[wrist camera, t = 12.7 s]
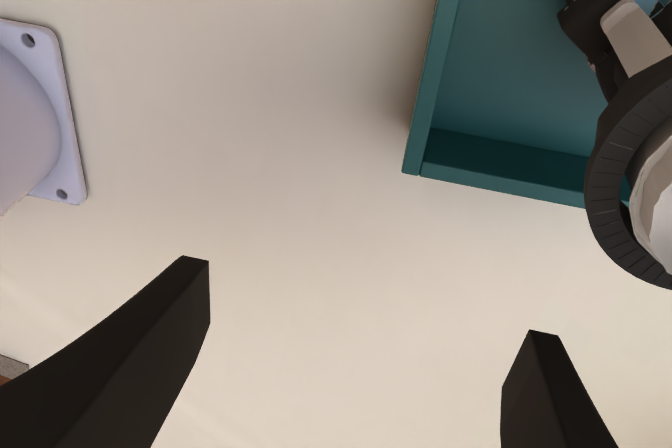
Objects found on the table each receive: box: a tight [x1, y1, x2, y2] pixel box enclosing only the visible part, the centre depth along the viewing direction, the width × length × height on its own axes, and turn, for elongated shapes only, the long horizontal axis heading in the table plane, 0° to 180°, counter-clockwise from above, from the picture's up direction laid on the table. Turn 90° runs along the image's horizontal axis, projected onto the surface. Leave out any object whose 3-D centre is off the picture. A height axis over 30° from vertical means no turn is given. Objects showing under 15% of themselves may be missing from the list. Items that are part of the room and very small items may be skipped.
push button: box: [557, 0, 672, 290], centre depth 13 cm, size 7×5×10 cm
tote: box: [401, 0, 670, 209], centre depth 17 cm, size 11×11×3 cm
